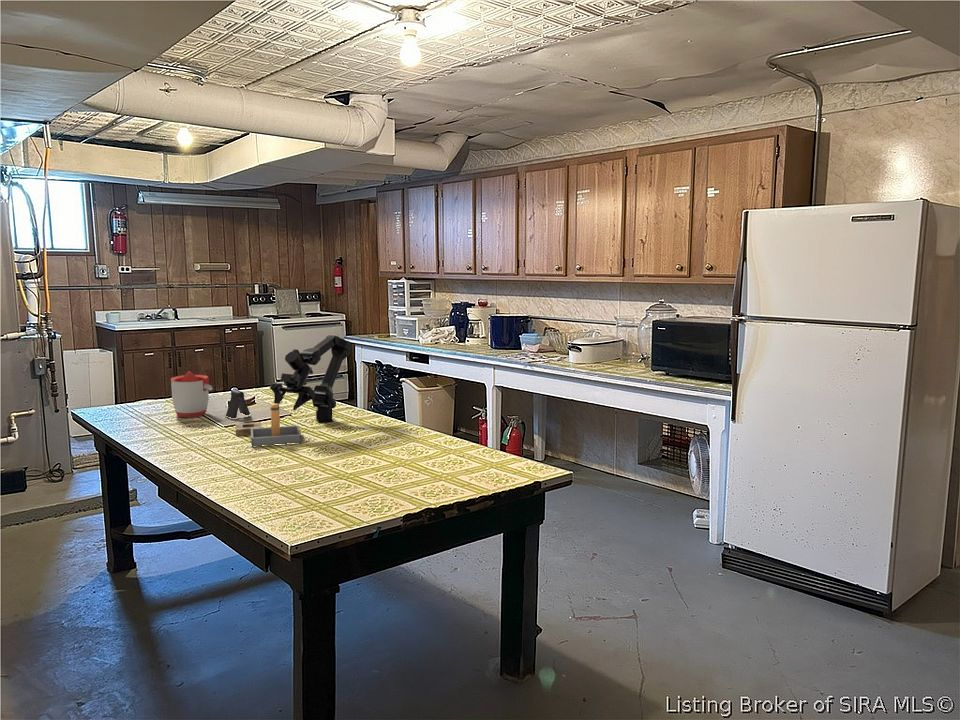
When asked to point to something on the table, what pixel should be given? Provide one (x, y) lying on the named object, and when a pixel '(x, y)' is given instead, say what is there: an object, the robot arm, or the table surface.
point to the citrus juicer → (190, 394)
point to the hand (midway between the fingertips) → (284, 408)
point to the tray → (265, 436)
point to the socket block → (246, 428)
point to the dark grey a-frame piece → (237, 404)
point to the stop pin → (275, 420)
